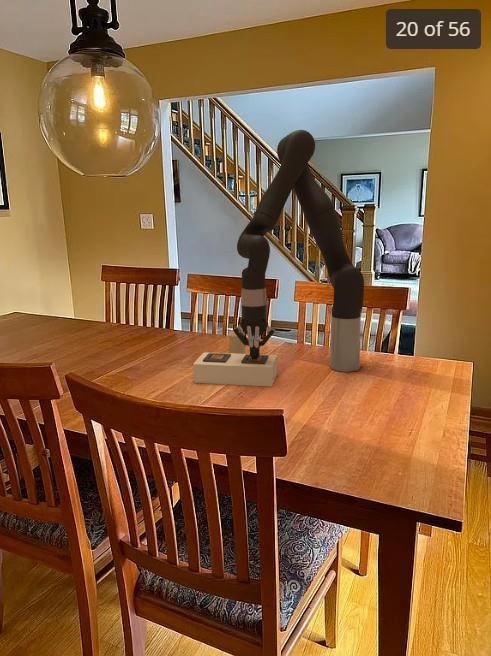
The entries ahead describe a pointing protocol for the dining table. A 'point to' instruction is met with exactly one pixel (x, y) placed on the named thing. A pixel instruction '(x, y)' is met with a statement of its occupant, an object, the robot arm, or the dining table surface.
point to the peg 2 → (256, 359)
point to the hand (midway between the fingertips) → (254, 358)
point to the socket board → (235, 369)
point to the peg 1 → (217, 356)
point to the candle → (235, 344)
